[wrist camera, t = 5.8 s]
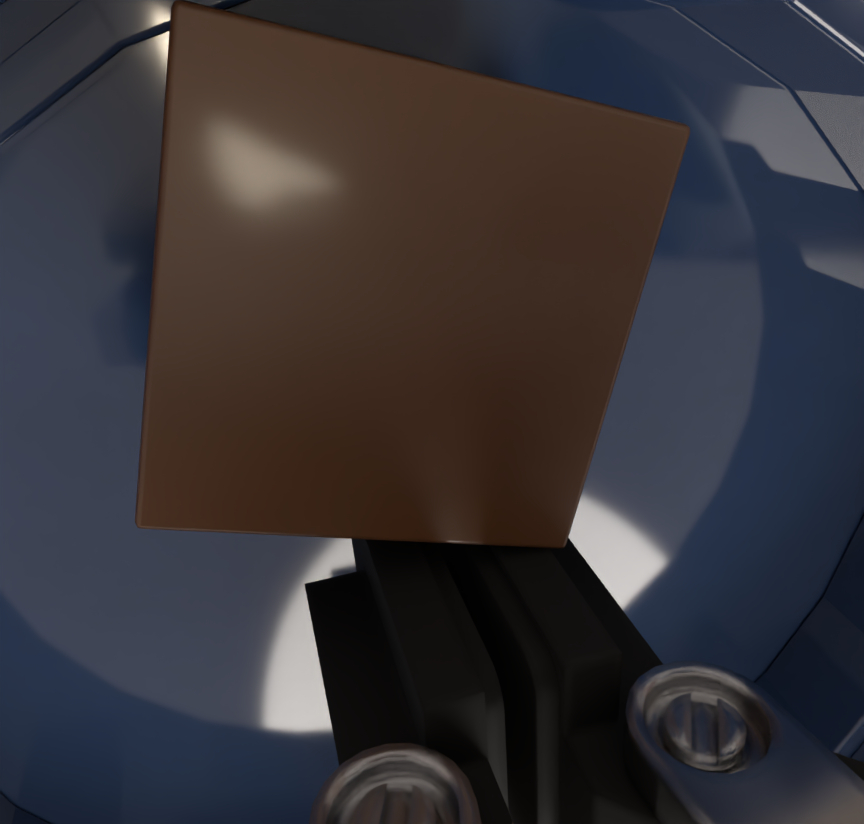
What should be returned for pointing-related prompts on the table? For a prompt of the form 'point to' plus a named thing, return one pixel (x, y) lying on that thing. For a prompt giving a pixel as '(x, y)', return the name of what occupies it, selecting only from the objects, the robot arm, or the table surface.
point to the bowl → (329, 557)
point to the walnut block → (384, 289)
